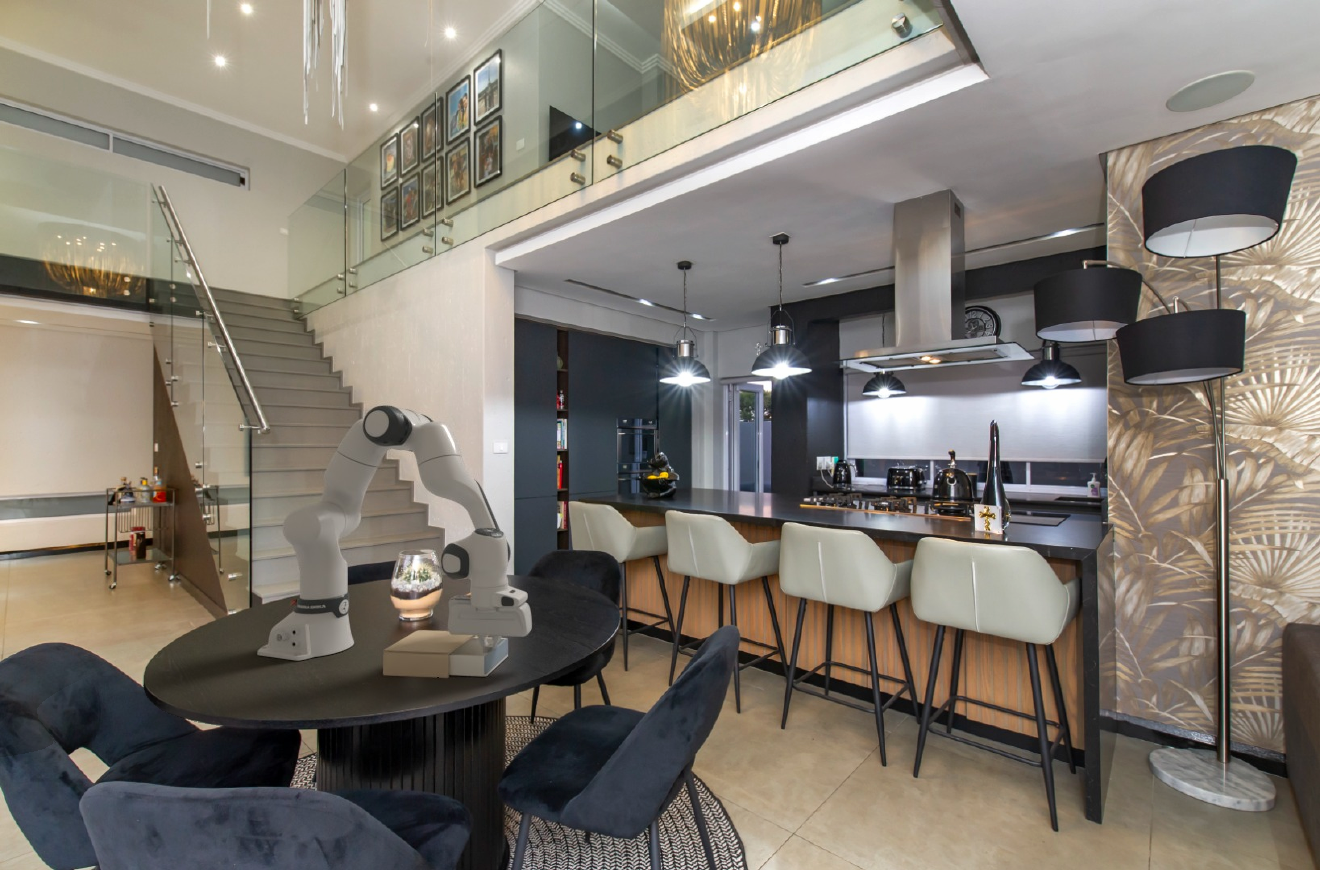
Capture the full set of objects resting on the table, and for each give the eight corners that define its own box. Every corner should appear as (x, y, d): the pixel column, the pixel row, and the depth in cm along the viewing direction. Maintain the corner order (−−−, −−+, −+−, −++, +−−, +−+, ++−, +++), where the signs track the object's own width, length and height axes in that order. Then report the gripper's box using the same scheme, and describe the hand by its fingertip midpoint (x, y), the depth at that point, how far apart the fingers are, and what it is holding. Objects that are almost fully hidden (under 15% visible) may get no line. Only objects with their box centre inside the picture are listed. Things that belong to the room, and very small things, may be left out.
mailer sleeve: (383, 675, 134) (383, 650, 134) (417, 652, 149) (417, 629, 149) (447, 677, 132) (447, 652, 132) (476, 654, 147) (476, 631, 147)
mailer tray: (425, 673, 134) (425, 654, 134) (451, 653, 146) (451, 636, 147) (486, 676, 132) (486, 656, 132) (507, 656, 145) (507, 638, 145)
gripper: (442, 598, 137) (442, 656, 137) (524, 600, 134) (525, 659, 134) (455, 591, 143) (455, 647, 143) (533, 593, 141) (534, 649, 140)
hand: (489, 652), depth 139 cm, fingers closed
